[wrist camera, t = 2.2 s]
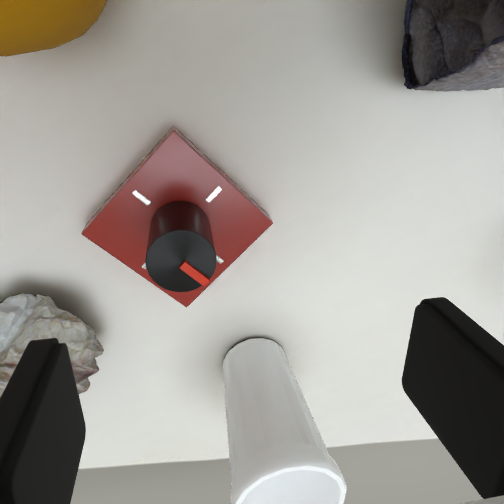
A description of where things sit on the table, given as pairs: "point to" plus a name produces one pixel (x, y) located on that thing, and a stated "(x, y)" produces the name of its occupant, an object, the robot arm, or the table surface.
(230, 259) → the dial panel
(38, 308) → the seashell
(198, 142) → the table surface
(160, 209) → the dial
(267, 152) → the table surface
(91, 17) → the apple
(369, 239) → the table surface
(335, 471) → the cup
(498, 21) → the stone block
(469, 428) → the robot arm
